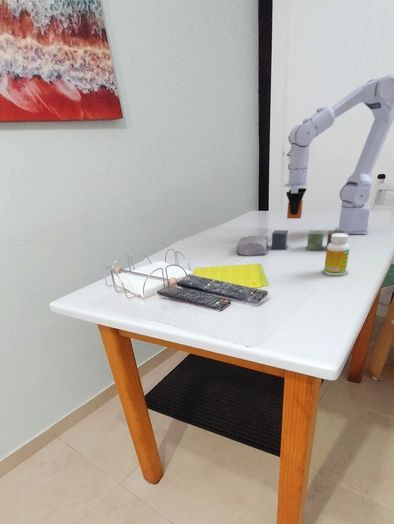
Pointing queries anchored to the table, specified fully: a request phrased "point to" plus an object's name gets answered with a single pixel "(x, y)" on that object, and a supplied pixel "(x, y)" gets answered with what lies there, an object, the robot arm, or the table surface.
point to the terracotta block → (297, 213)
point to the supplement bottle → (337, 254)
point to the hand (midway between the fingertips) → (294, 212)
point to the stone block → (252, 245)
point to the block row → (313, 239)
